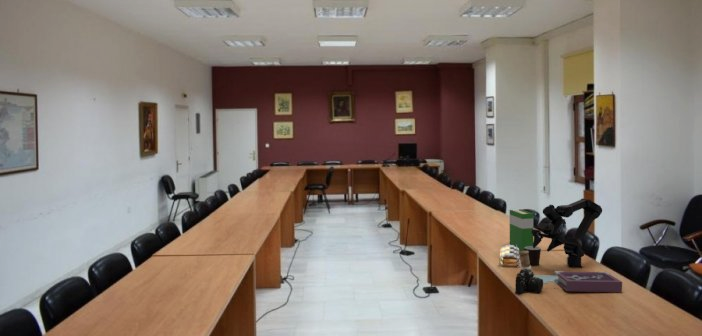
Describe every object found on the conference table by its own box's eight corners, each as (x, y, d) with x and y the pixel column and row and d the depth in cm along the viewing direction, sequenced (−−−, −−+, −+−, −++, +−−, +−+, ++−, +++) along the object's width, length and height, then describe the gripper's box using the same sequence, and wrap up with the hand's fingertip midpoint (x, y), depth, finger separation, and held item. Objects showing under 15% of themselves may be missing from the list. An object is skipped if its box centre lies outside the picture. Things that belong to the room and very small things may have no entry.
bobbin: (533, 272, 267) (529, 249, 266) (535, 276, 260) (531, 252, 260) (519, 274, 268) (515, 251, 268) (521, 277, 262) (517, 254, 261)
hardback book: (509, 246, 331) (509, 209, 329) (520, 245, 332) (520, 209, 330) (522, 252, 314) (521, 214, 312) (533, 251, 315) (533, 213, 313)
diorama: (519, 269, 278) (519, 246, 277) (499, 268, 281) (499, 245, 280) (519, 258, 301) (518, 236, 300) (500, 257, 305) (500, 236, 304)
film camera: (543, 297, 231) (543, 276, 231) (514, 295, 236) (514, 274, 235) (542, 286, 248) (542, 266, 247) (516, 284, 252) (516, 264, 251)
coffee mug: (542, 267, 279) (542, 249, 278) (525, 267, 281) (525, 249, 280) (538, 262, 290) (538, 245, 290) (523, 261, 292) (522, 244, 291)
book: (605, 281, 251) (606, 271, 251) (622, 292, 235) (622, 281, 235) (553, 280, 252) (554, 271, 252) (566, 291, 236) (567, 280, 235)
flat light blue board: (559, 277, 261) (559, 275, 261) (565, 285, 247) (565, 283, 247) (531, 276, 264) (531, 274, 264) (535, 284, 250) (535, 283, 250)
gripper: (533, 214, 276) (518, 237, 272) (561, 219, 260) (546, 243, 255) (543, 226, 280) (529, 249, 276) (572, 232, 264) (557, 256, 260)
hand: (540, 249), depth 267 cm, fingers open, 9 cm apart
